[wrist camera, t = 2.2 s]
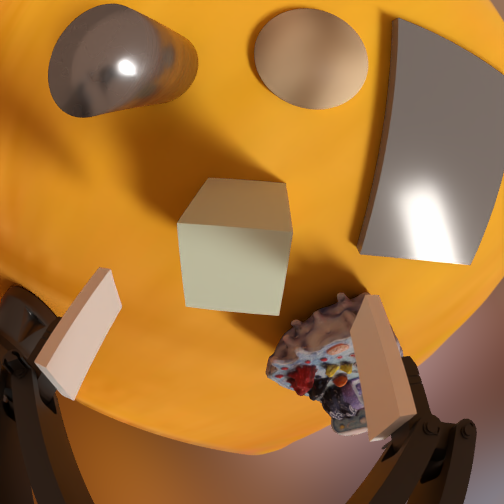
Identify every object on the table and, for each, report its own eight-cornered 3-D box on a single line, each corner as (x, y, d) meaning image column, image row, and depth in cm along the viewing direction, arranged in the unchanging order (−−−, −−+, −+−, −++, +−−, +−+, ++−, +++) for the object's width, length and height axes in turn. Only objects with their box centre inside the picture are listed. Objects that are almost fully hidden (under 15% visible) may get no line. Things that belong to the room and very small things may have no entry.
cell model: (350, 450, 27) (243, 410, 20) (343, 387, 36) (253, 323, 30) (441, 413, 22) (387, 350, 15) (419, 348, 31) (354, 258, 24)
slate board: (356, 246, 23) (359, 254, 22) (392, 21, 12) (398, 17, 11) (465, 258, 23) (470, 265, 22) (508, 83, 12) (515, 84, 11)
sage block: (209, 243, 24) (185, 306, 17) (208, 177, 21) (177, 222, 14) (277, 249, 24) (279, 315, 17) (285, 182, 20) (292, 232, 14)
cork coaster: (252, 103, 18) (251, 103, 17) (257, 7, 13) (257, 3, 12) (358, 116, 17) (362, 118, 16) (365, 24, 13) (370, 21, 12)
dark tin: (125, 107, 17) (49, 125, 10) (127, 39, 14) (52, 25, 7) (196, 102, 17) (143, 109, 10) (200, 28, 14) (152, -10, 7)
